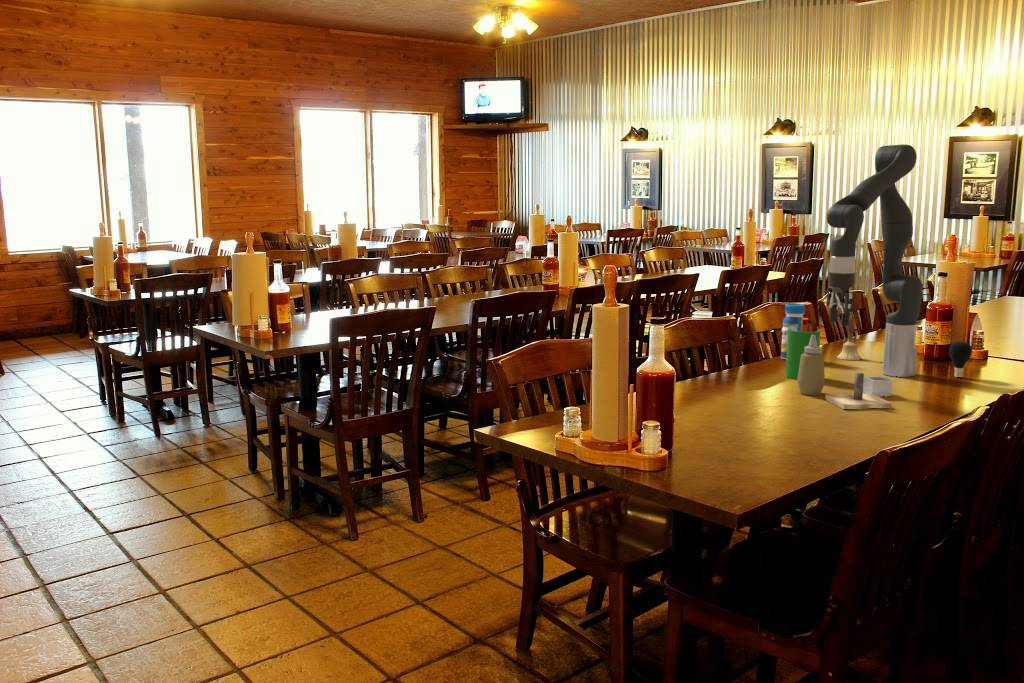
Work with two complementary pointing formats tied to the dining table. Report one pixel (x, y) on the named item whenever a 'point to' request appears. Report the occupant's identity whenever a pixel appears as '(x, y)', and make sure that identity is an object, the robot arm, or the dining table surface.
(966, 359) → the light bulb
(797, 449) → the dining table surface
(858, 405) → the stand
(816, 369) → the squeeze bottle
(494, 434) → the dining table surface
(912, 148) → the robot arm
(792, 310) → the beverage bottle
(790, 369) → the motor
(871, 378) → the collar
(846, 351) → the hand bell
